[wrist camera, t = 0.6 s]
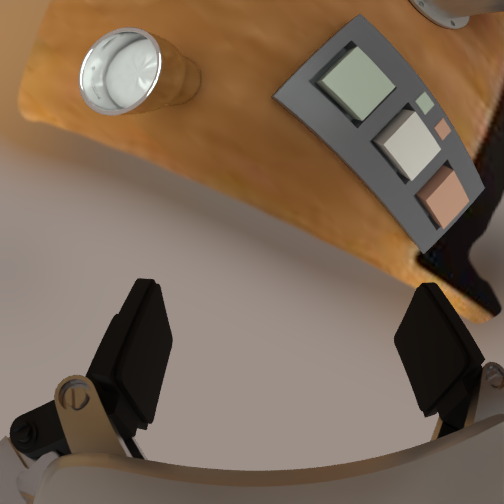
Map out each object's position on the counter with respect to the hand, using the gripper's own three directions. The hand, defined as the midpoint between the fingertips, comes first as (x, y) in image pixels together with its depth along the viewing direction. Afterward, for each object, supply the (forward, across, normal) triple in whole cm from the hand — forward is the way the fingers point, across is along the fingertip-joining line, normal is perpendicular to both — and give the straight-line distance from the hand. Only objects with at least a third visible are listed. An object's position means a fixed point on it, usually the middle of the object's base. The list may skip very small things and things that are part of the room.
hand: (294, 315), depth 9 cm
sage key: (+23, -9, -10) cm, 26 cm away
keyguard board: (+26, -16, -4) cm, 30 cm away
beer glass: (+26, +11, -10) cm, 30 cm away
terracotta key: (+23, -23, +1) cm, 32 cm away
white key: (+23, -16, -4) cm, 28 cm away
